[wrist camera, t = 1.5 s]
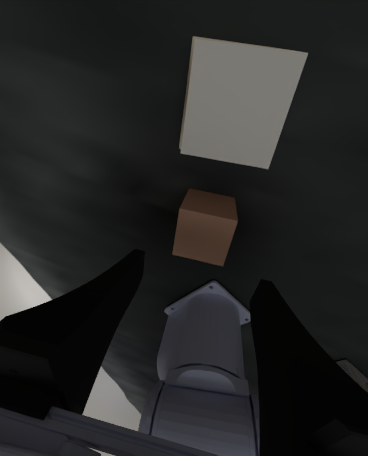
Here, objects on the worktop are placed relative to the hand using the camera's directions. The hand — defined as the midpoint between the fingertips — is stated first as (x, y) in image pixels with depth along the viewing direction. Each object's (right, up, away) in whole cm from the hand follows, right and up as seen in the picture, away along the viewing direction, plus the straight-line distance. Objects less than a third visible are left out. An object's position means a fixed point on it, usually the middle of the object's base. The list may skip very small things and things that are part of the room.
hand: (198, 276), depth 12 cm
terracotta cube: (+1, +5, +8) cm, 10 cm away
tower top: (+2, +11, +1) cm, 11 cm away
